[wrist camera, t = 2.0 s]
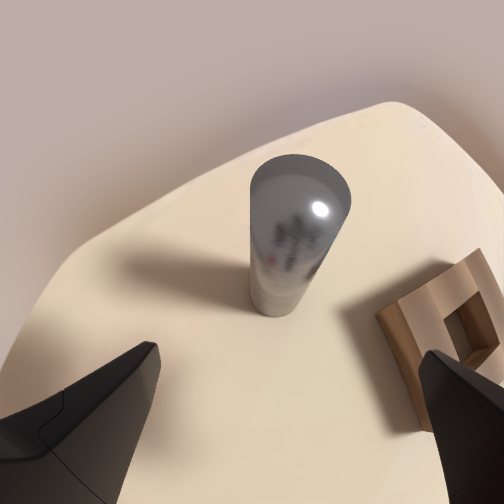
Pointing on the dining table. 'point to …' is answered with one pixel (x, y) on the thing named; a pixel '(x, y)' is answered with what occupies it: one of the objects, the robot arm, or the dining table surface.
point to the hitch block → (435, 332)
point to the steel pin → (292, 227)
